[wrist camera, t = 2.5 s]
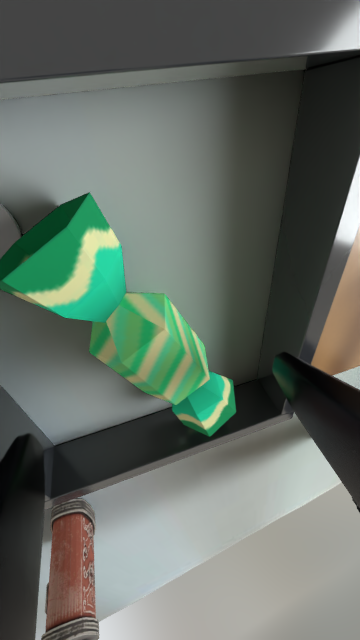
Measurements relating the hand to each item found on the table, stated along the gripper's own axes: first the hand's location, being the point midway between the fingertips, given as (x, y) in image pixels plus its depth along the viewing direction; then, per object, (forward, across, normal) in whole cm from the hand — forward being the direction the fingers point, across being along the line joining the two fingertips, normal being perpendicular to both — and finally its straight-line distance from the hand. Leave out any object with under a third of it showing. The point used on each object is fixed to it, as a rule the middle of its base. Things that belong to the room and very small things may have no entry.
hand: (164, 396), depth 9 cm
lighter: (+4, +10, +19) cm, 22 cm away
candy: (+4, 0, 0) cm, 4 cm away
